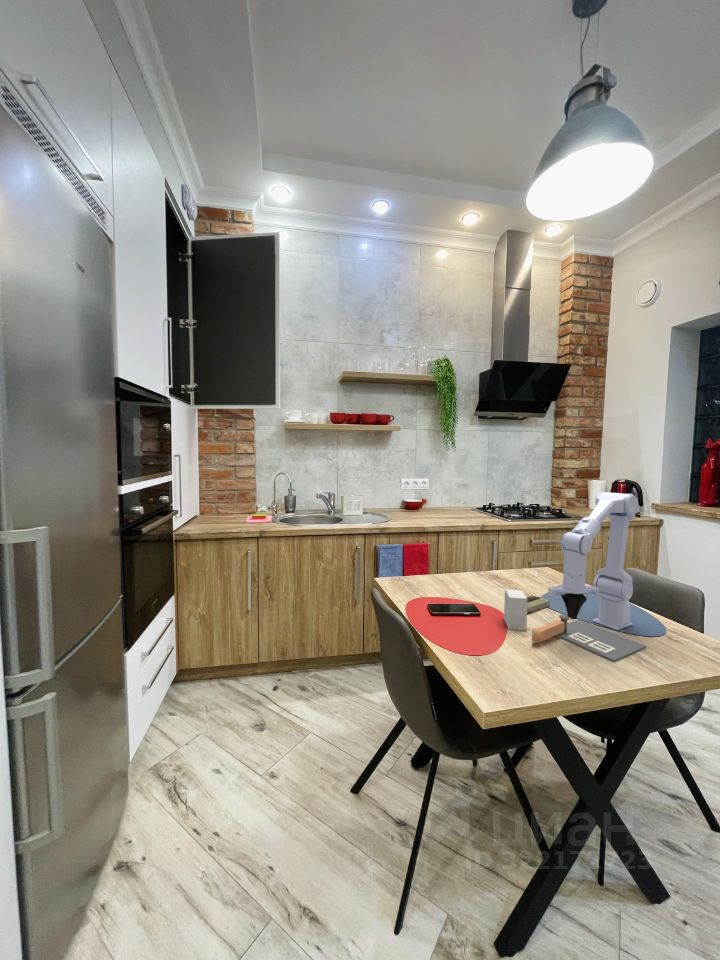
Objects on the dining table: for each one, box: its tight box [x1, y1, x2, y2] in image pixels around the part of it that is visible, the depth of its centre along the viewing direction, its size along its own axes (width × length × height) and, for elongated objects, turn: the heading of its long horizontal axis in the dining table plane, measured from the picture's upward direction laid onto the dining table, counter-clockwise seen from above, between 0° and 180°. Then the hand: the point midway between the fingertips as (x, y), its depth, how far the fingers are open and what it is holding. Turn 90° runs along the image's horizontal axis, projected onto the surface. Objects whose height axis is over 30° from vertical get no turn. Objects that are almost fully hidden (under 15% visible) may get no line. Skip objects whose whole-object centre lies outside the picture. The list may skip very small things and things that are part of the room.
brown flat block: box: [526, 595, 550, 614], centre depth 139 cm, size 16×8×3 cm, turn 123°
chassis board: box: [554, 614, 647, 663], centre depth 115 cm, size 17×20×5 cm
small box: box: [503, 588, 528, 631], centre depth 124 cm, size 8×6×10 cm
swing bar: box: [531, 619, 564, 644], centre depth 114 cm, size 2×14×3 cm, turn 123°
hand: (572, 617), depth 113 cm, fingers closed
